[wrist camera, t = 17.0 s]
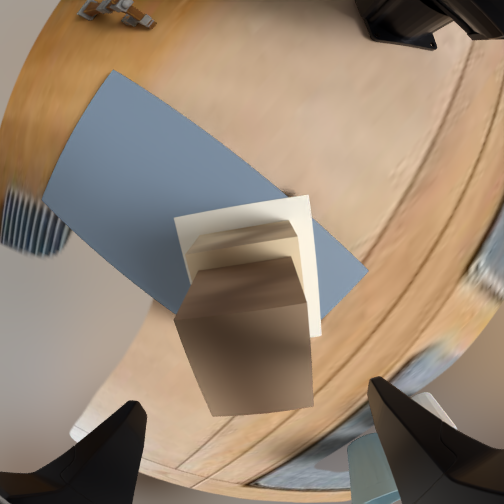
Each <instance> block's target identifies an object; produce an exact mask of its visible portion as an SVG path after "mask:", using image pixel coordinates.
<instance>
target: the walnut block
mask: <svg viewBox="0 0 504 504" xmlns="http://www.w3.org/2000/svg"><path fill="white" fill-rule="evenodd" d="M174 323H175V325H176V328H177V331H178V334H179V337H180V339H181V342H182V345H183V347H184V350H185V353H186V355H187V358H188V360H189V363H190V365H191V368H192V370H193V373H194V375H195V378H196V380H197V382H198V385H199V387H200V389H201V392H202V394H203V396H204V399H205V401H206V403H207V405H208V408H209V410H210V412H211V414H212V416H213V417H215V416H237V415H251V414H262V413H272V412H280V411H288V410H295V409H301V408H307V407H313V406H314V401H313V378H312V361H311V345H310V332H309V319H308V307H307V301H306V298H305V295H304V292H303V289H302V286H301V283H300V280H299V278H298V275H297V272H296V269H295V266H294V263H293V260H292V258H291V256H290V257H284V258H278V259H271V260H265V261H258V262H252V263H245V264H239V265H232V266H226V267H219V268H212V269H206V270H199V271H198V272H197V274H196V276H195V278H194V280H193V282H192V284H191V286H190V288H189V290H188V292H187V294H186V296H185V298H184V300H183V302H182V304H181V306H180V308H179V310H178V312H177V314H176V316H175V318H174Z"/></svg>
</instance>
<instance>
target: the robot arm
mask: <svg viewBox="0 0 504 504" xmlns="http://www.w3.org/2000/svg"><path fill="white" fill-rule="evenodd" d="M355 1H356V4H357V6H358V9H359V11H360V14H361V16H362V17H363V18H364V21H365V23H366V26H367V29H368V32H369V35H370V37H371V39H372V40H374V41H376V42H383V43H391V44H398V45H405V46H411V47H416V48H421V49H426V50H431V51H434V50H436V49H437V45H436V42H435V39H434V36H433V34H432V33H434V32H435V31H437V30H439V29H440V28H442V27H444V26H446V25H447V24H449V23H451V22H453V21H455V22H456V23H457V24H458V25H459V26H460V27H461V28H462V29H463V30H464V31H465V32H466V33H467V35H468V36H469V37H470V38H471V39H472V40H489V39H504V0H355ZM375 34H376V35H378V37H376V36H375ZM431 45H432V46H431ZM367 396H368V400H369V404H370V408H371V412H372V416H373V420H374V424H375V428H376V431H377V434H378V437H379V440H380V442H381V445H382V447H383V450H384V453H385V456H386V458H387V461H388V464H389V466H390V469H391V472H392V475H393V478H394V481H395V483H396V486H397V489H398V492H399V495H400V498H401V501H402V504H504V449H496V448H492V447H490V446H488V445H485V444H483V443H481V442H479V441H477V440H475V439H473V438H471V437H469V436H467V435H465V434H463V433H461V432H460V431H458V430H456V429H455V428H453V427H452V426H450V425H449V424H447V423H446V422H444V421H442V420H441V419H440V418H438V417H437V416H435V415H434V414H433V413H431V412H430V411H428V410H427V409H425V408H424V407H423V406H421V405H420V404H418V403H417V402H416V401H414V400H413V399H411V398H410V397H409V396H407V395H406V394H404V393H403V392H402V391H400V390H399V389H397V388H396V387H395V386H393V385H392V384H390V383H389V382H388V381H386V380H385V379H384V378H382V377H380V376H378V377H374V378H371V379H370V380H369V385H368V392H367ZM146 423H147V414H146V412H145V410H144V409H143V407H142V406H141V404H140V403H139V402H138V401H133V400H130V401H128V402H126V403H125V404H124V405H123V406H122V407H121V408H119V409H118V410H117V411H116V412H115V413H113V414H112V415H111V416H110V417H109V418H107V419H106V420H105V421H104V422H103V423H101V424H100V425H99V426H98V427H97V428H95V429H94V430H93V431H92V432H90V433H89V434H88V435H87V436H86V437H84V438H83V439H82V440H81V441H79V442H78V443H77V444H76V445H75V446H73V447H72V448H71V449H69V450H68V451H67V452H65V453H64V454H63V455H61V456H60V457H58V458H57V459H55V460H54V461H52V462H50V463H49V464H47V465H46V466H44V467H42V468H41V469H39V470H37V471H35V472H33V473H10V472H0V504H132V502H133V496H134V490H135V486H136V481H137V476H138V471H139V467H140V462H141V457H142V453H143V448H144V441H145V432H146Z"/></svg>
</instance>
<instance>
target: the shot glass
mask: <svg viewBox="0 0 504 504" xmlns="http://www.w3.org/2000/svg"><path fill="white" fill-rule="evenodd" d="M411 399H413V400H414V401H416V402H417V403H418V404H420V405H421V406H423V407H424V408H425V409H427V410H428V411H430V412H431V413H433V414H434V415H435V416H437V417H438V418H440V419H441V420H442V421H444V422H446V423H447V424H449V425H450V426H452V427H453V428H455V429H456V430H457V428H456V426H455V425H454V423H453V422H452V421H451V419H450V418H449V417H448V415H447V414H446V413H445V412H444V410H443V409H442V408H441V406H440V405H439V404H438V402H437V401H436V400H435V399H434V397H433V396H432V395H431V394H430V393H429V392H423V393H420V394H416V395H415V396H413V397H411Z"/></svg>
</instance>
